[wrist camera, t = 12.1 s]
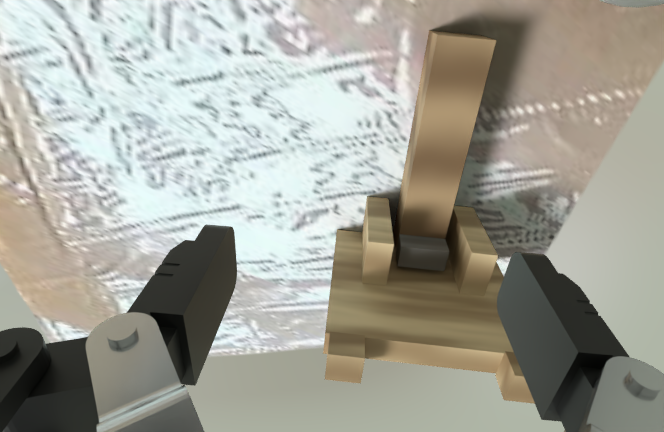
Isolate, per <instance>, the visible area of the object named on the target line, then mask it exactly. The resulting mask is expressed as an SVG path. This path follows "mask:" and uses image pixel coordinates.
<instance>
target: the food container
mask: <svg viewBox="0 0 664 432" xmlns="http://www.w3.org/2000/svg"><path fill="white" fill-rule="evenodd" d="M600 1H602V2H605V3H609V4H613V5H617V6H621V7H647V6H656V5H661V4H664V0H600Z"/></svg>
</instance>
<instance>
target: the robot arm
mask: <svg viewBox="0 0 664 432" xmlns="http://www.w3.org/2000/svg"><path fill="white" fill-rule="evenodd" d="M236 278H237V264H236V251H235V237H234V230H233V228H232V227H228V226H217V225H205V226H204V227H203V229H202V230H201V232H200V233H199V235H198V236H197V238H196V240H195V241H189V240H185V241H183V242H182V243H180V244H179V245H177V246H176V247H175V248H173V249H172V250H170V252H169V253H168V255H167V256H166V257H165V259H164V260H163V262H162V265H160V266H159V267H158V269H157V270H156V272H155V275H153V276H152V277H151V279H150V280H149V282H148V283H147V285H146V286H145V287H144V289H143V290H142V292H141V293H140V295H139V296H138V297H137V299H136V300H135V302H134V303H133V305H132V306H131V307H130V309H129V310H128V312H127V313H124V314H120V315H116V316H114V317H111V318H109V319H107V320H105V321H104V322H102V323H101V324H99V325H98V326H97V327H96V328H95V329H94V330H93V331H92V332H91V333H90V335H89V336H88V337H85V338H80V339H74V340H68V341H61V342H55V343H49V344H45V341H44V339H43V337H42V335H41V334H40V333H39V332H38V331H37V330H35V329H31V328H12V329H8V330H4V331H1V332H0V432H204V430H203V427H202V425H201V422H200V420H199V417H198V415H197V412H196V410H195V408H194V405H193V403H192V400H191V398H190V396H189V393H188V391H187V389H186V387H185V385H183V386H182V385H181V384H186V385H196V383H197V380H198V378H199V375H200V373H201V370H202V368H203V365H204V363H205V360H206V358H207V355H208V353H209V351H210V348H211V346H212V343H213V341H214V338H215V336H216V333H217V331H218V328H219V326H220V323H221V321H222V318H223V316H224V314H225V311H226V309H227V306H228V304H229V301H230V299H231V296H232V294H233V291H234V288H235V284H236ZM589 302H590V301H589V300H588V298H587V297H586V295H585V294H584V292H583V291H582V290H581V288H580V287H579V286H578V285H577V284H575V283H574V282H573V281H572V280H570V279H569V278H568V277H566V276H565V275H564V274H560V273H558V272H557V271H556V269H555V268H554V266H553V265H552V263H551V262H550V260H549V259H548V258H547V256H545V255H544V254H533V253H522V252H516V253H514V254H513V255H512V257H511V259H510V262H509V265H508V267H507V270H506V273H505V276H504V279H503V281H502V284H501V287H500V290H499V293H498V296H497V311H498V315H499V317H500V320H501V322H502V325H503V327H504V330H505V332H506V334H507V337H508V339H509V342H510V344H511V347H512V349H513V351H514V354H515V356H516V359H517V361H518V364H519V366H520V368H521V371H522V373H523V376H524V378H525V380H526V383H527V385H528V388H529V390H530V393H531V395H532V397H533V400H534V402H535V404H536V407H537V410H538V412H539V414H540V417H541V419H542V420H552V421H561V422H562V424H563V426H564V428H565V431H564V432H664V374H663V373H662V372H660V371H659V370H657V369H656V368H654V367H653V366H650V365H649V364H647V363H645V362H642V361H640V360H637V359H634V358H630V357H629V355H628V354H627V353H626V351H625V350H624V348H623V347H622V346H621V344H620V343H619V342H618V340H617V339H616V337H615V336H614V334H613V333H612V332H611V330H610V329H609V327H608V326H607V325H606V323H605V322H604V320H603V319H602V318H601V316H598V312H597V311H596V309H595V308H594V306H593V305H592V304H590V303H589Z"/></svg>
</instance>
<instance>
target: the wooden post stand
mask: <svg viewBox="0 0 664 432" xmlns="http://www.w3.org/2000/svg"><path fill="white" fill-rule="evenodd" d="M445 240H446V243H447V246H448V249H449V255H448V259H447V263H446V267H445V270H444V271H438V270H428V269H419V268H410V267H401V266H397V258H396V250H395V242H394V236H393V232H392V224H391V216H390V208H389V200H388V198H378V197H369V196H367V202H366V209H365V216H364V223H363V230H362V232H354V231H345V230H337V235H336V244H335V253H334V262H333V271H332V280H331V288H330V297H329V306H328V315H327V324H326V332H325V342H324V352H323V353H324V354H327V364H326V374H325V379H326V380H335V381H344V382H352V383H361V378H362V372H363V366H364V361H365V358H367V359H376V360H384V361H393V362H402V363H410V364H419V365H428V366H437V367H446V368H454V369H463V370H472V371H481V372H490V373H496V375H495V376H496V378H497V381H498V384H499V387H500V390H501V392H502V396H503V399H504V400H509V401H517V402H526V403H534V404H535V402H534V400H533V397H532V395H531V393H530V390H529V388H528V385H527V383H526V380H525V378H524V376H523V373H522V371H521V368H520V366H519V364H518V361H517V359H516V356H515V354H514V351H513V349H512V347H511V344H510V342H509V339H508V337H507V334H506V332H505V330H504V327H503V325H502V322H501V320H500V317H499V315H498V311H497V296H498V293H499V290H500V287H501V284H502V281H503V279H504V276H503V274H502V272H501V270H500V268H499V266H498V264H497V262H496V261H497V258H498V254H497V252H496V251H495V249H494V247H493V245H492V243H491V241H490V239H489V237H488V235H487V233H486V231H485V229H484V227H483V225H482V223H481V222H480V220H479V218H478V216H477V214H476V212H475V210H474V208H473V207H463V206H454V207H453V211H452V215H451V219H450V222H449V226H448V230H447V234H446V238H445Z"/></svg>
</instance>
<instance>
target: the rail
mask: <svg viewBox="0 0 664 432" xmlns="http://www.w3.org/2000/svg"><path fill="white" fill-rule="evenodd" d="M495 44H496V40H494V39H491V38H488V37H485V36H482V35H472V34H461V33H451V32H440V31H430V30H429V35H428V41H427V46H426V52H425V57H424V63H423V68H422V74H421V79H420V85H419V90H418V96H417V101H416V107H415V112H414V118H413V123H412V129H411V134H410V140H409V145H408V151H407V156H406V162H405V167H404V173H403V179H402V184H401V190H400V195H399V201H398V206H397V212H396V217H395V223H394V228H393V234H394V242H395V250H396V258H397V266H401V267H410V268H419V269H428V270H438V271H444V270H445V267H446V263H447V259H448V255H449V249H448V246H447V243H446V240H445V238H446V234H447V230H448V226H449V222H450V219H451V215H452V211H453V207H454V203H455V199H456V195H457V191H458V188H459V184H460V180H461V176H462V172H463V168H464V164H465V160H466V156H467V153H468V149H469V145H470V141H471V137H472V133H473V129H474V125H475V122H476V118H477V114H478V110H479V106H480V102H481V98H482V94H483V91H484V87H485V83H486V79H487V75H488V71H489V67H490V63H491V60H492V56H493V52H494V48H495Z"/></svg>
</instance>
